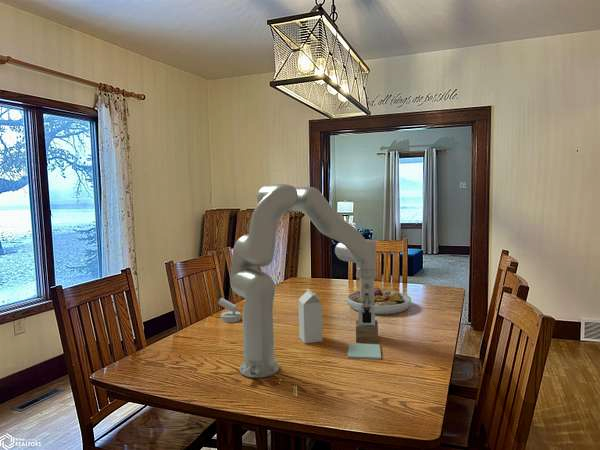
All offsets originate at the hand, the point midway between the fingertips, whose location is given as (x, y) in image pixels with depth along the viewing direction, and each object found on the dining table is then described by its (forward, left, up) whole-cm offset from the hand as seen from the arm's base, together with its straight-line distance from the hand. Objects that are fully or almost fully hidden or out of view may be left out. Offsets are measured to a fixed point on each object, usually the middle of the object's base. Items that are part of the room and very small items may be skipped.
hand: (366, 319), depth 159 cm
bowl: (+44, -6, -8) cm, 45 cm away
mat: (-13, +1, -7) cm, 15 cm away
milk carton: (-3, +21, -8) cm, 23 cm away
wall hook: (+19, +60, -8) cm, 63 cm away
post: (0, 0, -7) cm, 7 cm away
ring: (0, 0, -1) cm, 1 cm away
